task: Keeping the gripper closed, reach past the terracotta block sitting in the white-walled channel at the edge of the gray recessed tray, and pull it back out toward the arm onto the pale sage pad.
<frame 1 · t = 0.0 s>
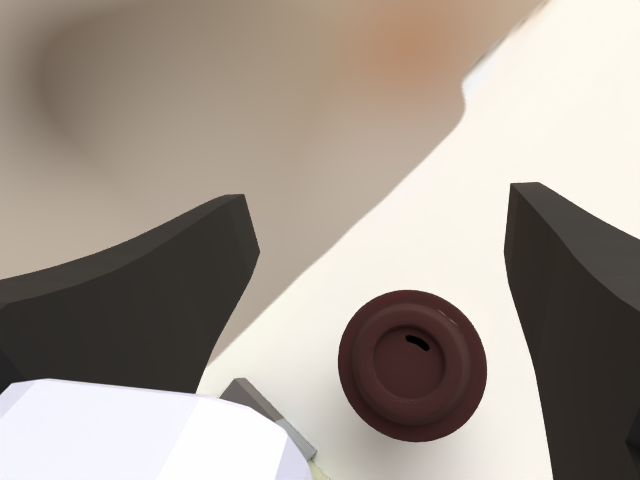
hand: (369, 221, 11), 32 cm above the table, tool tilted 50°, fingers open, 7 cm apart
coffee cup: (416, 362, 40), on the table
gray recessed tray: (240, 466, 42), on the table
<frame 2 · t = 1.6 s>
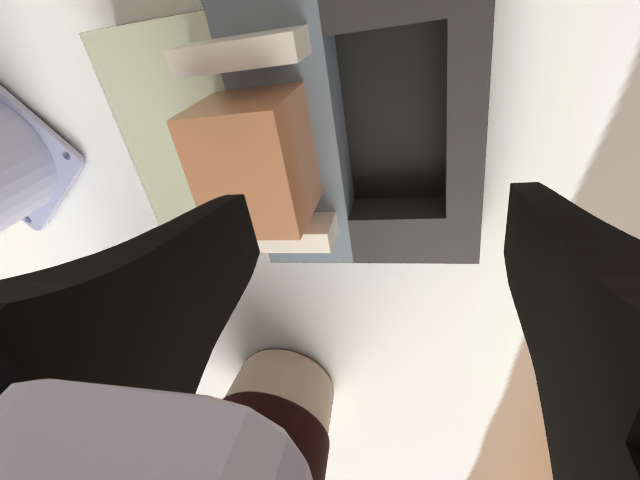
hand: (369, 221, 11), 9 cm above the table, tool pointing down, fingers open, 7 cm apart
terracotta block: (271, 144, 18), point 2 cm above the table, touching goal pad, gray recessed tray
coffee cup: (289, 376, 32), on the table
channel walls: (287, 126, 20), resting on gray recessed tray
gray recessed tray: (356, 120, 19), on the table
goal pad: (206, 133, 22), on the table
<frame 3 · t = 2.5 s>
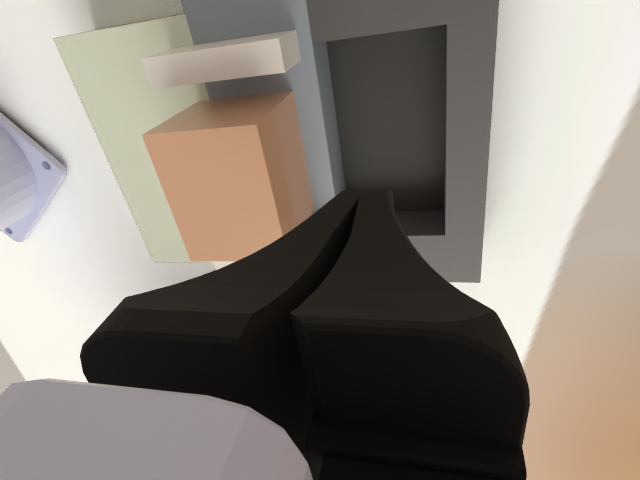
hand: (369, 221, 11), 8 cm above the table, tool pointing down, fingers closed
terracotta block: (259, 157, 17), point 2 cm above the table, touching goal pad, gray recessed tray
channel walls: (277, 136, 19), resting on gray recessed tray
gray recessed tray: (350, 130, 18), on the table
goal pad: (192, 143, 20), on the table
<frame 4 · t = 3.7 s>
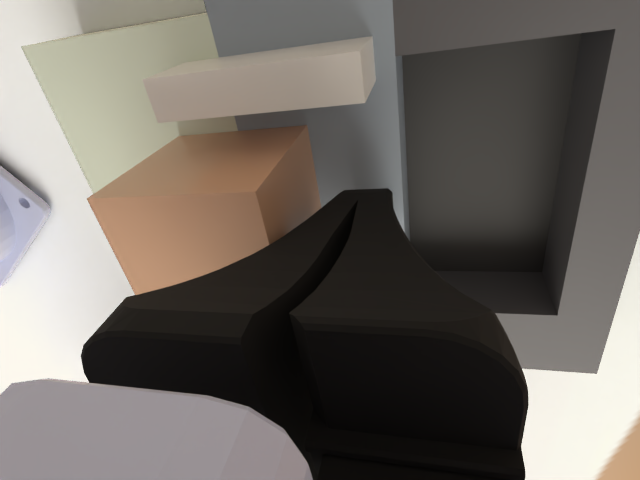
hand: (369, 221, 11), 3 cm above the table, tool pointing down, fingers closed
terracotta block: (260, 208, 13), point 3 cm above the table, touching gripper
channel walls: (321, 174, 15), resting on gray recessed tray
gray recessed tray: (422, 169, 14), on the table
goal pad: (209, 180, 16), on the table
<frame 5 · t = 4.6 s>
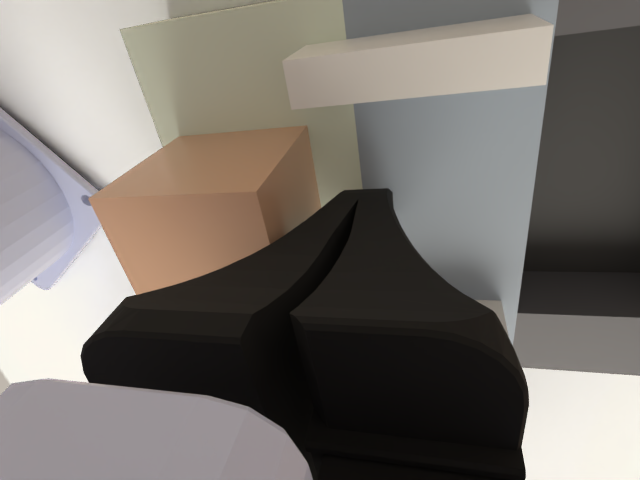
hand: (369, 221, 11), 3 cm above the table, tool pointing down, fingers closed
terracotta block: (260, 208, 13), point 2 cm above the table, touching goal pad, gripper
channel walls: (418, 169, 14), resting on gray recessed tray
gray recessed tray: (534, 163, 13), on the table
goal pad: (291, 175, 15), on the table
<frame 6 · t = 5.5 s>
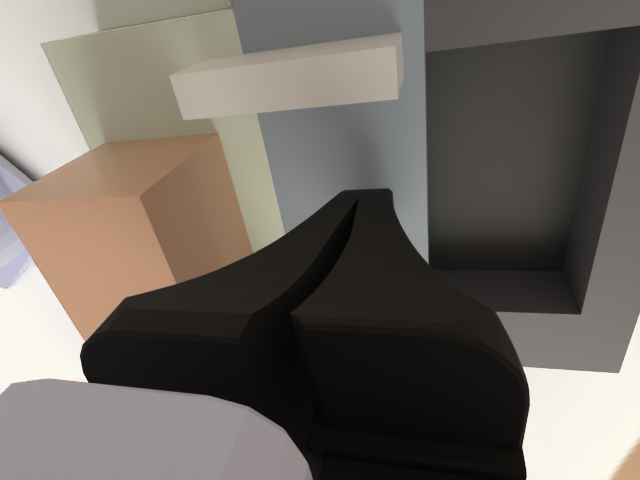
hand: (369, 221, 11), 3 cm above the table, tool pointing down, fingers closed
terracotta block: (185, 210, 14), point 2 cm above the table, touching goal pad
channel walls: (339, 172, 15), resting on gray recessed tray
gray recessed tray: (443, 167, 14), on the table
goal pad: (225, 179, 16), on the table
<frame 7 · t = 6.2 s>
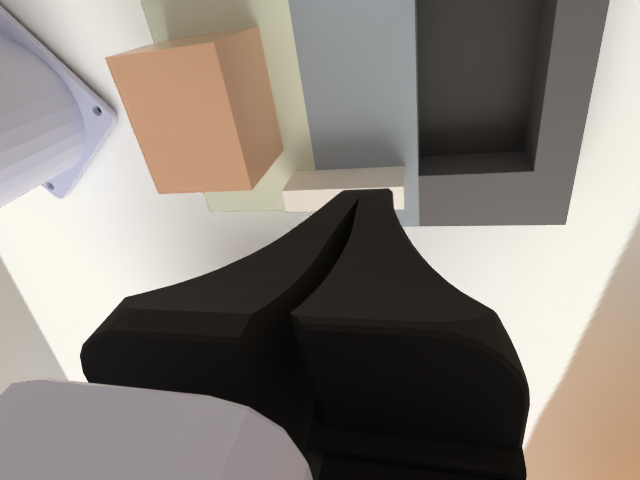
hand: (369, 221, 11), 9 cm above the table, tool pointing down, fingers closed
terracotta block: (228, 97, 18), point 2 cm above the table, touching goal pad
channel walls: (348, 73, 18), resting on gray recessed tray
gray recessed tray: (430, 64, 17), on the table
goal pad: (255, 83, 20), on the table
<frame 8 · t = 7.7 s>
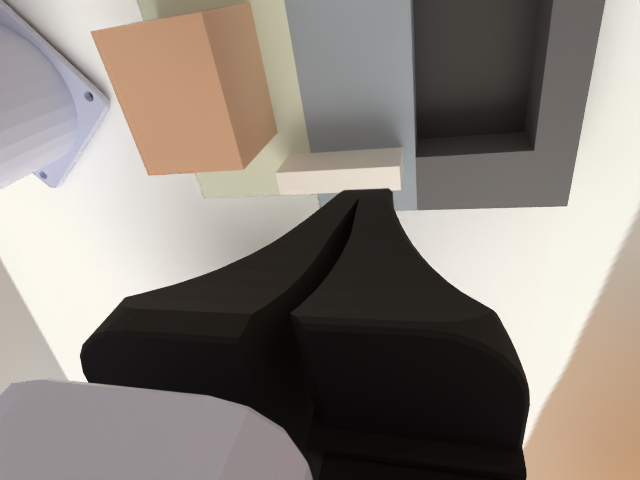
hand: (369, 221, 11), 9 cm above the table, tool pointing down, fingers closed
terracotta block: (220, 77, 17), point 2 cm above the table, touching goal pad
channel walls: (344, 53, 18), resting on gray recessed tray
gray recessed tray: (426, 42, 17), on the table
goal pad: (249, 65, 19), on the table
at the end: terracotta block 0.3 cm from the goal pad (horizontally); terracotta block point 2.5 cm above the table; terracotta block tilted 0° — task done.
